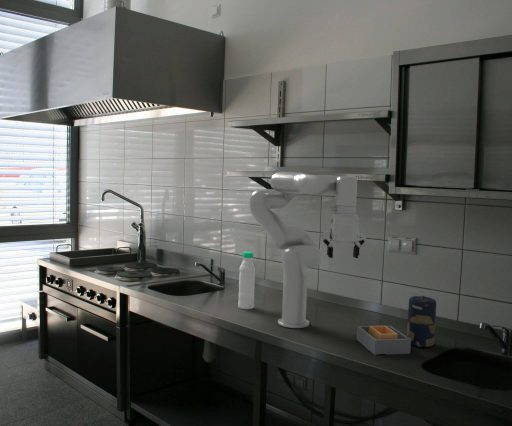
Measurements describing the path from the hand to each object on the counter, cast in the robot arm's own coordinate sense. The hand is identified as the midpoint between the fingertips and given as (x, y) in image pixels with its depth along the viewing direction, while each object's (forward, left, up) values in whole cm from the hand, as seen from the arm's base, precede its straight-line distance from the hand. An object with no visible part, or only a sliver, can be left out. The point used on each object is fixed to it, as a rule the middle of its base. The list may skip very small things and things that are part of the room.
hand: (343, 257), depth 187 cm
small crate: (+9, +13, -29) cm, 33 cm away
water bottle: (-46, -27, -31) cm, 61 cm away
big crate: (+9, +13, -30) cm, 34 cm away
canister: (+8, +28, -31) cm, 42 cm away
